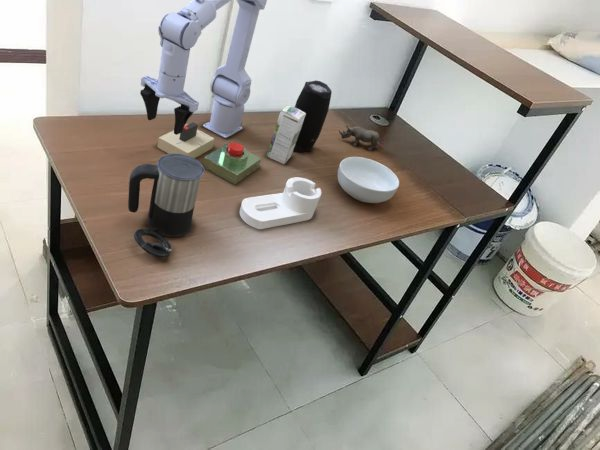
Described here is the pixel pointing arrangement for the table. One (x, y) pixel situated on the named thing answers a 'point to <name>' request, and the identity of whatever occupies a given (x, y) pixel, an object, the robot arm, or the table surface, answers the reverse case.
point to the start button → (235, 149)
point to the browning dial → (188, 131)
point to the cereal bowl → (367, 180)
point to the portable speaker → (312, 113)
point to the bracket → (282, 205)
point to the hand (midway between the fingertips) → (164, 125)
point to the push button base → (231, 164)
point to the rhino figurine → (361, 136)
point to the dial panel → (186, 144)
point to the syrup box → (286, 134)
